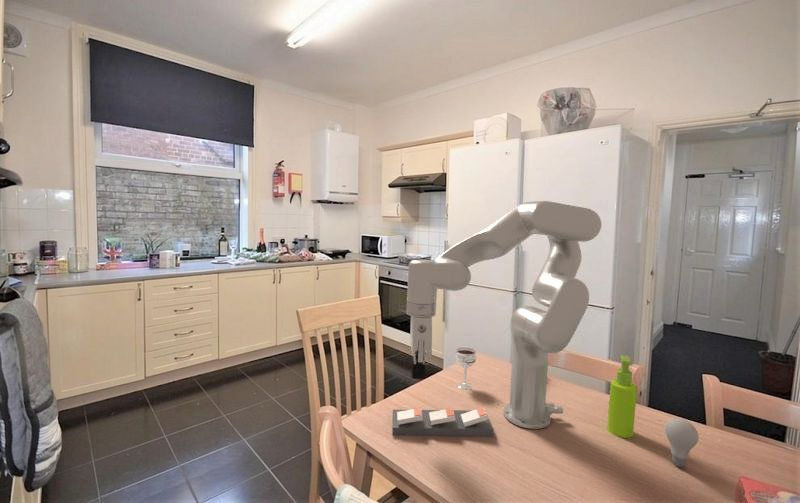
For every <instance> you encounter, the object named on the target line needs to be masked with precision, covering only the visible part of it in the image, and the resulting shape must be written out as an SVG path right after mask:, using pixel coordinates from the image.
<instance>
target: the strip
mask: <svg viewBox="0 0 800 503" xmlns="http://www.w3.org/2000/svg"><path fill="white" fill-rule="evenodd" d="M406 410H407V409H398V408H397V409H395V408H394V409H393V408H392V426H391V427H392V428H391V434H392V436H424V437H425V436H428V437H429V436H431V437H436V436H437V437H440V436H441V437H494V427H493V425H492V423H491V420H490V419H489V416H488V415H487V417H488V420H485V421H482V422H478V423H475V424H472V425H469V426H466V427H465V426H464V423H463V420H462V417H461V414H464V413H467V412H470V411H471V410H464V409H463V410H462V409H461V410H459V409H458V410H457V409H456V410H454V409H453V412H454V415H455V421H450V422H445V423H440V424H434V425H431V421H430V415H429V412H434V411H440V410H441V409H421V411H422V418H423V420H420V421H415V422H410V423H404V424H399V425H398V421H397V412H400V411H406Z"/></svg>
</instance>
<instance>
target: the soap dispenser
mask: <svg viewBox="0 0 800 503" xmlns="http://www.w3.org/2000/svg"><path fill="white" fill-rule="evenodd" d="M619 358H620V360H621V368H618V369H616V370H617V371H616V379H611V381H610V387H609V388H610V390H609V403H608V416H607V431H608V432H610V433H611V434H612V435H614V436H615V437H618V438H623V439H624V438H625V439H629V438H633V436H634V427H635V426H634V425H635V415H636V402H637V391H638V387H637V385H636V384H635V383H633V382H632V380H633V372H632V371H630V365H631V359H630V357H629V356H628V355H623V354H619Z"/></svg>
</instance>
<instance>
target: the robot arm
mask: <svg viewBox="0 0 800 503" xmlns="http://www.w3.org/2000/svg"><path fill="white" fill-rule="evenodd" d="M601 229H602V220H601V217H600V216H599V214H598V213H597V212H596V211H595V210H593V209H591V208H588V207H582V206H578V205H577V206H576V205H570V204H566V203H560V202H554V201H550V200H549V201H548V200H540V201H539V200H537V201H535V200H534V201H526V202H523V203H520V204H518V205H517V206H515V207H514V208H512V209H511V210H510V211H508V212H507V213H506V214H504V215H503V216H501V217H499V219H497V220H496V221H494V222H493V223H492V224H490V225H489V226H488V227H486V228H484V229H483V230H481V231H479V232H477V233H475V234H473V235H471V236H469V237H468V238H465V239H464V240H462V241H460V242H457V243H456V244H455V245H453V246H451V247H450V248H449V249H447V250H446V251H445V252H443V253H441V255H439V256H438V257H436V258H435V259H434V260H431V259H414V260H411V261H410V262H409V263H408V266H407V267H408V269H407V290H406V310H405V311H406V315H408V316H410V333H409V335H410V348H411V354H412V355H413V356H412V358H413V359H412V360H413V361H411V362H412V364H411V366H412V367H411V368H412V369H411V378H412V379H415V380H417V379H418V380H424V379H425V376H426V375H425V374H426V359H425V358H426V355H427V356H428V357H431V356H432V349H433V347H432V346H433V345H432V344H433V317H435V316H436V314H437V297H438V296H437V295H438V290H446V291H452V292H456V291H462V290H464V289H466V288H467V287H468V285H469V284H470V282H471V280H472V273H471V271H470V269H469V267H470V266H472V265H475V264H478V263H480V262H481V263H482V262H484V261H490V260H495V259H498V258H501V257H503V256H506V255H507V254H508V253H509V252H511V251H512V250H514V248H516V247H517V246H519V245H520V244H521V243H523V242H524V241H525V240H527V239H528V238H530V237H531V236H532V235H540V236H547V239H548V243H549V252H548V255H547V257H546V260H545V261H544V264H543V266H542V267H541V270H540V272H539V274H538V276H537V278H536V279H535V281H534V283H533V286H532V288H531V289H532V290H531V295H532V298H533V299H534V300H535V301H536V302H537V303H538V304H540V305H542V306H544V307H547V310H546V311H545V310H543V309H541V308H538V307H536V306H531V305H524V306H520V307H518V308H517V309H515V311H514V312H513V314H512V315H511V318H510V325H509V326H510V327H509V328H510V334H511V335H510V336H511V348H512V349H511V350H512V351H511V353H512V354H511V369H510V370H511V371H510V372H511V373H510V387H509V388H510V390H509V392H510V393H509V403H508V404H506V405H505V406H504V408H503V416H504V417H505V419H506V420H508V421H509V422H510V423H512V424H513V425H515V426H518V427H519V428H520V427H521V428H524V429H530V430H539V429H544V428H547V427H548V426H550V425H551V420H552V418H551V415H553V414H556V415H557V414H558V415H563V413H564V410H563V406H559V405H558V406H555V403H554V402H547V400H546V399H547V384H548V368H549V354H558V353H560V352H562V351H563V350H565V348H567V346H568V345H569V343H570V341H571V340H572V338H573V336H574V334H575V333H576V331H577V329H578V327H579V325H580V323H581V321H582V319H583V317H584V315H585V314H586V311H587V309H588V306H589V302H590V293H589V292H590V291H589V289H588V287H587V285H586V284H585V283H584V282H583V281H582V280H580V279H578V278H576V275H577V274H578V270H580V269H579V268H580V266H581V263H582V251H581V246H580V243H579V242H583V243H586V242H589V241H592V240H593V239H595V238H596V237H597V236H598V235H599V233H600V231H601Z"/></svg>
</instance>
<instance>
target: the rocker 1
mask: <svg viewBox="0 0 800 503" xmlns="http://www.w3.org/2000/svg"><path fill="white" fill-rule="evenodd" d="M405 410H406V411H400V412H397V421H398V425H399V424H404V423H410V422H415V421H420V420H423V418H422V411H421V410H422V408H421V407H417V408H412V409H405Z"/></svg>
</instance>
